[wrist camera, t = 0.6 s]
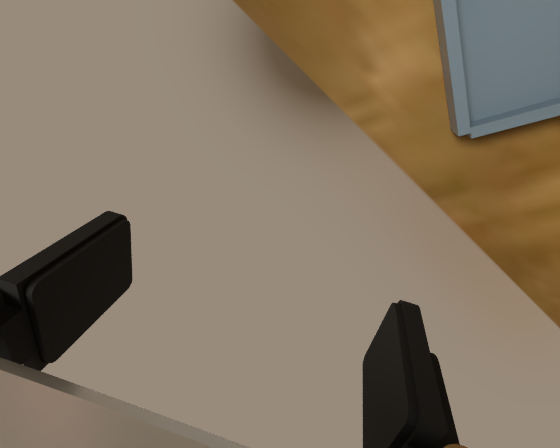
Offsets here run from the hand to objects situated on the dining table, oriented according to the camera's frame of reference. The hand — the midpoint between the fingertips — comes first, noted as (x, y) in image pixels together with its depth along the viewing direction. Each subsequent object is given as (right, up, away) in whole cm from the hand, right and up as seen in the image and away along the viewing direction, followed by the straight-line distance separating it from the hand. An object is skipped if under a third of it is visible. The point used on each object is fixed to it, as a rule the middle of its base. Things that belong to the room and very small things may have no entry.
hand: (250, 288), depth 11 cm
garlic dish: (+22, +18, +16) cm, 33 cm away
